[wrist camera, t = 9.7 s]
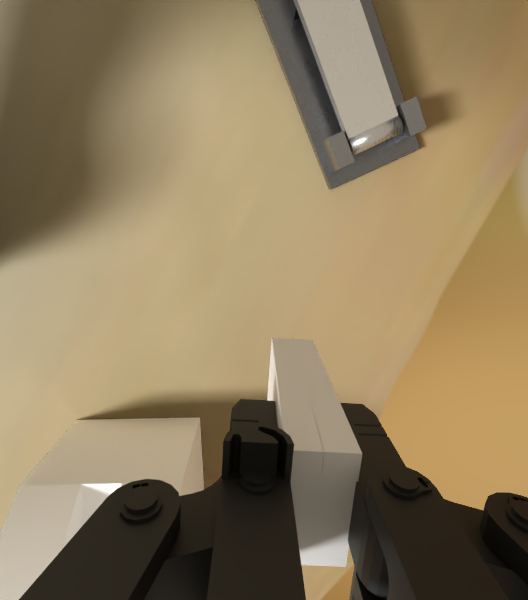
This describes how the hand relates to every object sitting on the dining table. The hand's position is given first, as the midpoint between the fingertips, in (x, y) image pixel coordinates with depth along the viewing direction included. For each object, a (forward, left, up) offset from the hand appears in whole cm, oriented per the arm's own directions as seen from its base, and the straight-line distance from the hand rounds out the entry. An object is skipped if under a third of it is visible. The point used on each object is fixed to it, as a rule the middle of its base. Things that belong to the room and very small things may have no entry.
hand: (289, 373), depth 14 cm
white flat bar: (+5, +21, -26) cm, 34 cm away
